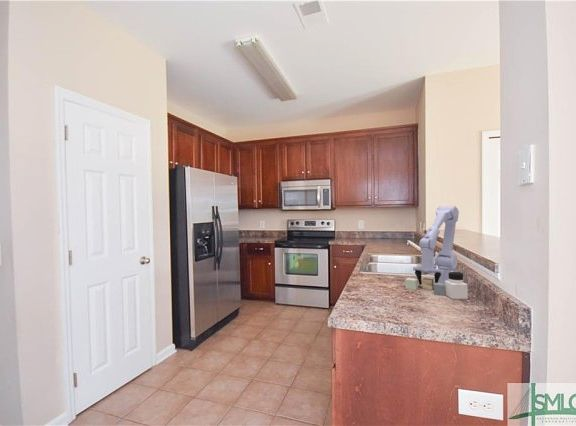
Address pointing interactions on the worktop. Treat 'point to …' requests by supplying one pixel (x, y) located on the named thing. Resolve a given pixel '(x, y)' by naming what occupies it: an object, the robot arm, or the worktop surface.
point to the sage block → (411, 283)
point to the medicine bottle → (456, 286)
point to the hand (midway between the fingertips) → (428, 285)
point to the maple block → (428, 283)
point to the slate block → (439, 289)
